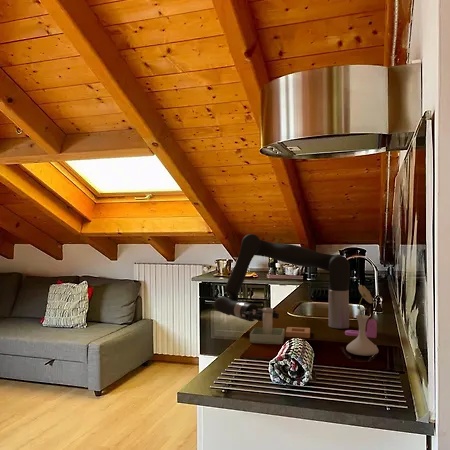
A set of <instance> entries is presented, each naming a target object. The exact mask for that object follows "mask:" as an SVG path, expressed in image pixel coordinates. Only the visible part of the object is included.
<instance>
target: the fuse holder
mask: <svg viewBox="0 0 450 450" xmlns="http://www.w3.org/2000/svg"><path fill="white" fill-rule="evenodd" d="M285 329H286V330H285V337H286V338H301V339H302V338H303V339H304V338H305V339H309V338H311V328H310V327H297V326H296V327H294V326H287V327H286V328H285Z"/></svg>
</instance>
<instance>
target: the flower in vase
mask: <svg viewBox="0 0 450 450" xmlns="http://www.w3.org/2000/svg"><path fill="white" fill-rule="evenodd" d="M358 291H359V293H360V295H361V298H360V300H359V303H358V304H357V305H356V308H357V309H358V310H359V312H360V314H356V315H355V316H354V317H355V318H356V319H357V323H358V331H359V335H358V336H356V338H355V339H353V340H351V341H350V342H349V343H348V344H347V345H346V347H345V348H346V349H345V350H346V351H347V352H348V353H350V354H352V355H356V356H363V357H364V356H367V357H368V356H374V355H377V354H378V353H379V348H378V346H376V344H375V343H373V342H372V340H370V339H369V337H366V334H365V331H366V329H367V323H368V321H369V318H370V316H369V315H365V314H362V312H364V311H366V310H367V307H365V308H364V309H362V310H361V304H362V300H363V299H364V300H365V301H366V302H367V303H369V304H373V303H374V301H373V300H374V297H373V296H372V294H371V291H370V290H368V288H366V286H365V285H362V284H360V285H358Z"/></svg>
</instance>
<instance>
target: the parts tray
mask: <svg viewBox="0 0 450 450" xmlns="http://www.w3.org/2000/svg"><path fill="white" fill-rule="evenodd" d="M285 329H286V328H277V327H272V334H273V335H264V334H263V327H260V326H259V327H257V326H256V327H255V326H254V327H253V328H252V329H251V331H250V333H249V343H250V344H264V345H280V344H281V345H282V344H284V342H285V341H284V340H285V337H286V330H285Z"/></svg>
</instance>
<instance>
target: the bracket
mask: <svg viewBox="0 0 450 450" xmlns="http://www.w3.org/2000/svg"><path fill="white" fill-rule="evenodd" d="M377 324H378V323H377V320H375V319H374V318H370V319H368V320H367V322H366V330H365V334H366V337H367V338H370V339H371V338H372V339H376V338H377V337H378V335H377V334H378V332H377V331H378V325H377ZM344 335H345V336H350V337H358V335H359V330H353V329H347V330H345V331H344Z"/></svg>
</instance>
